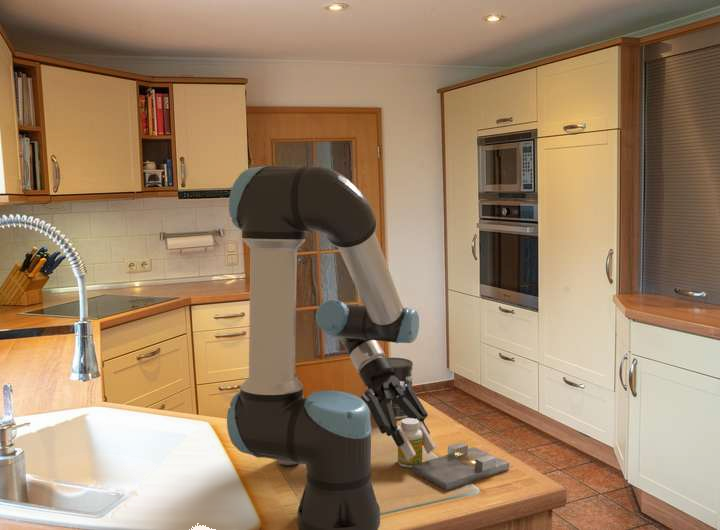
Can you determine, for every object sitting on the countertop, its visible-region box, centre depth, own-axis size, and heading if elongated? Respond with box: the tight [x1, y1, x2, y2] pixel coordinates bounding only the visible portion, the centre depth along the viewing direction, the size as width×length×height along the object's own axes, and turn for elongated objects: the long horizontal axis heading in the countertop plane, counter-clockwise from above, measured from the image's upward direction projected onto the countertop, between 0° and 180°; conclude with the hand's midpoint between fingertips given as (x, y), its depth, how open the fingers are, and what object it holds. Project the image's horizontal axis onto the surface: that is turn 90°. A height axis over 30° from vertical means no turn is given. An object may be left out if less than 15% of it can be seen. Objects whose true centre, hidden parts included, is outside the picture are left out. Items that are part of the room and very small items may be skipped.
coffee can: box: [376, 357, 413, 420], centre depth 184 cm, size 10×10×14 cm
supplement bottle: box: [397, 417, 423, 469], centre depth 151 cm, size 5×5×10 cm
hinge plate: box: [411, 442, 510, 491], centre depth 147 cm, size 18×11×4 cm, turn 125°
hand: (421, 453), depth 148 cm, fingers closed on supplement bottle, 5 cm apart
